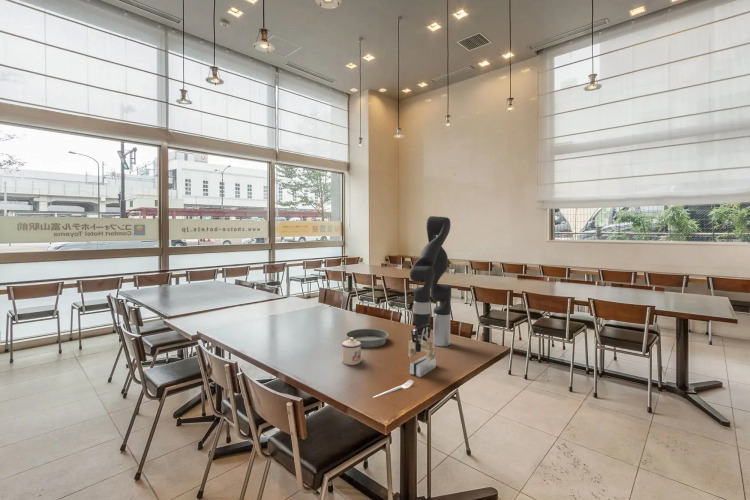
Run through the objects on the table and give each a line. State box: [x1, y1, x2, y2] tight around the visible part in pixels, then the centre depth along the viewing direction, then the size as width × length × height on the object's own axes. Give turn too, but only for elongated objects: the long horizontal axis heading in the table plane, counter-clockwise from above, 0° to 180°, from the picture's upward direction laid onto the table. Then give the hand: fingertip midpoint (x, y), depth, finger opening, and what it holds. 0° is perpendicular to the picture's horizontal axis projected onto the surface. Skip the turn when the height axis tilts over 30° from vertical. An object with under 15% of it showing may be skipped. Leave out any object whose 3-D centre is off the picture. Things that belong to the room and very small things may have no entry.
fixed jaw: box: [415, 356, 437, 378], centre depth 159 cm, size 14×2×5 cm, turn 143°
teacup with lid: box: [341, 337, 362, 366], centre depth 171 cm, size 12×9×12 cm
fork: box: [372, 379, 415, 399], centre depth 140 cm, size 3×20×2 cm, turn 128°
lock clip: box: [407, 339, 435, 362], centre depth 157 cm, size 5×10×7 cm, turn 54°
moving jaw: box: [409, 351, 436, 375], centre depth 161 cm, size 17×4×6 cm, turn 141°
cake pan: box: [344, 328, 390, 348], centre depth 203 cm, size 25×25×4 cm
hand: (421, 349), depth 157 cm, fingers closed on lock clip, 5 cm apart
